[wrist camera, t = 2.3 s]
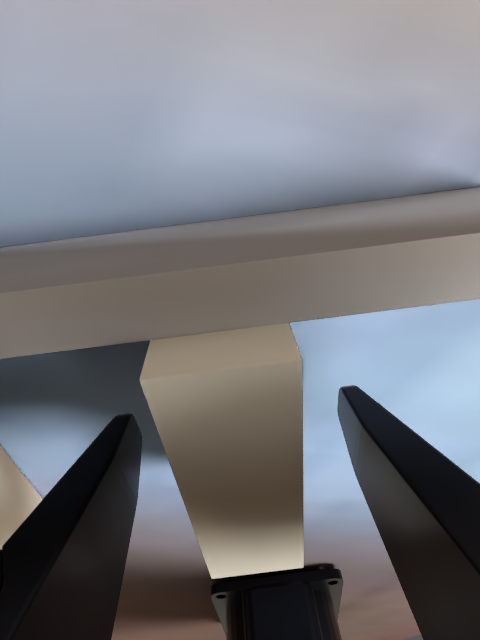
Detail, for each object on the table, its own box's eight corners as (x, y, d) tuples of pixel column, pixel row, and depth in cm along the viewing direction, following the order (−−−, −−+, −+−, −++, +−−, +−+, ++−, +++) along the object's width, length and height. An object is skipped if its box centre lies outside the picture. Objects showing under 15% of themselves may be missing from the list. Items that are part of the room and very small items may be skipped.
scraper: (418, 433, 12) (487, 545, 9) (75, 476, 12) (28, 602, 9) (487, 185, 7) (680, 239, 4) (-67, 255, 7) (-262, 357, 4)
